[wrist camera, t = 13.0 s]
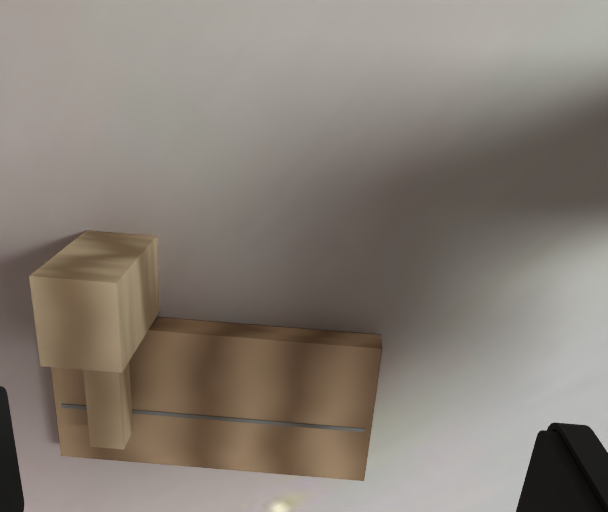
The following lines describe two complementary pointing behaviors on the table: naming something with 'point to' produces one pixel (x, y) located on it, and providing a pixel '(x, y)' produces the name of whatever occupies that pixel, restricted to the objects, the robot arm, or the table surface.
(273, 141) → the table surface
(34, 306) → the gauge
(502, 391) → the table surface
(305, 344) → the board
